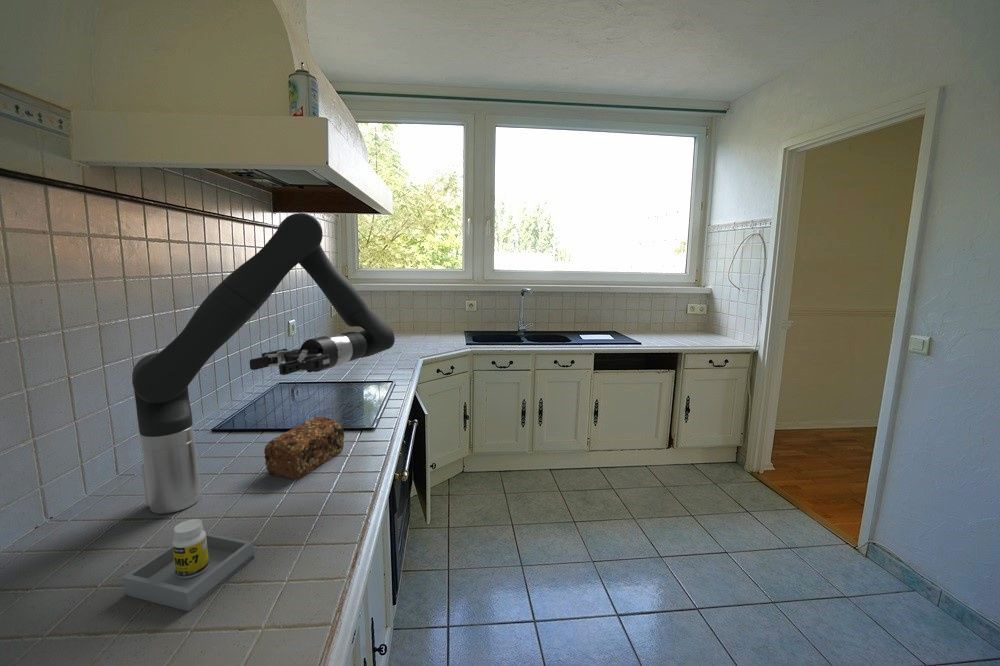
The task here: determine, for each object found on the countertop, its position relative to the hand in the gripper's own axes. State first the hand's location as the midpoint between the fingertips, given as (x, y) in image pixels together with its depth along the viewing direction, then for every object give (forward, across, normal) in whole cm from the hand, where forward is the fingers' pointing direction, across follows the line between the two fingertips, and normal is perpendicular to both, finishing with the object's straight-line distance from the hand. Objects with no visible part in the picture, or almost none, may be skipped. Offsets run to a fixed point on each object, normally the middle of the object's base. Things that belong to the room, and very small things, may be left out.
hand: (265, 367), depth 90 cm
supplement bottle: (+19, +2, +31) cm, 37 cm away
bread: (-21, -14, +32) cm, 41 cm away
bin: (+19, +3, +32) cm, 37 cm away
